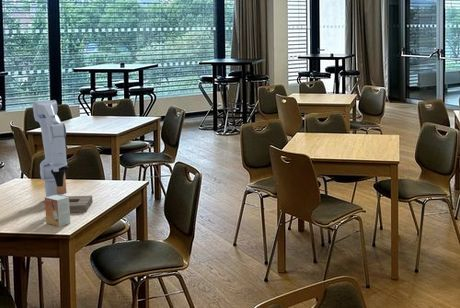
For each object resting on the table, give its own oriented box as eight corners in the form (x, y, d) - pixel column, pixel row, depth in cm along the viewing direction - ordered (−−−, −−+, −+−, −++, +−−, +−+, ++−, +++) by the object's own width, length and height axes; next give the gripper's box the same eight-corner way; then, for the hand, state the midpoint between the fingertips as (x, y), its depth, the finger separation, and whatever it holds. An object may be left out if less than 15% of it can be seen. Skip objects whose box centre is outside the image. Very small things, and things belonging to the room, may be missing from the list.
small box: (46, 223, 250) (44, 197, 248) (58, 220, 255) (56, 194, 253) (59, 227, 245) (57, 200, 243) (71, 223, 250) (69, 197, 248)
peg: (57, 192, 271) (56, 171, 269) (67, 191, 271) (65, 170, 270) (55, 194, 267) (54, 173, 265) (65, 194, 267) (64, 172, 266)
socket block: (60, 203, 280) (59, 196, 280) (92, 202, 281) (92, 195, 280) (51, 213, 264) (51, 206, 264) (86, 212, 265) (85, 205, 264)
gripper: (53, 150, 273) (55, 181, 276) (44, 156, 259) (47, 189, 261) (70, 149, 273) (72, 180, 276) (62, 156, 259) (64, 189, 261)
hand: (61, 185), depth 268 cm, fingers closed on peg, 4 cm apart
